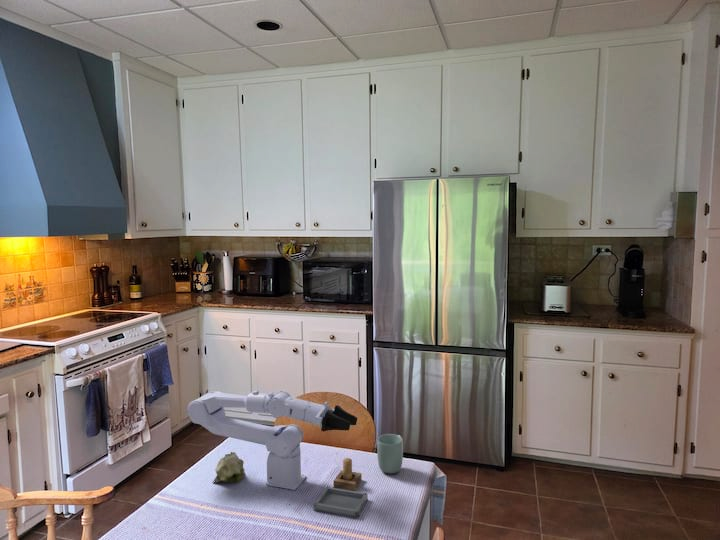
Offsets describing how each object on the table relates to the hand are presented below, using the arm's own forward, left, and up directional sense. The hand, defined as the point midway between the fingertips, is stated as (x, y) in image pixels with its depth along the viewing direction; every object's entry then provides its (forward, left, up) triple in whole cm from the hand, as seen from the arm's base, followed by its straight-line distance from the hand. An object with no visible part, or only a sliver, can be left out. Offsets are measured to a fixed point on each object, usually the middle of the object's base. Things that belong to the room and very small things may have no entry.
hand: (353, 423), depth 134 cm
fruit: (-37, -4, -20) cm, 42 cm away
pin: (-3, +3, -20) cm, 20 cm away
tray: (-1, -8, -20) cm, 21 cm away
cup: (+7, +14, -20) cm, 25 cm away
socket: (-3, +3, -20) cm, 20 cm away
